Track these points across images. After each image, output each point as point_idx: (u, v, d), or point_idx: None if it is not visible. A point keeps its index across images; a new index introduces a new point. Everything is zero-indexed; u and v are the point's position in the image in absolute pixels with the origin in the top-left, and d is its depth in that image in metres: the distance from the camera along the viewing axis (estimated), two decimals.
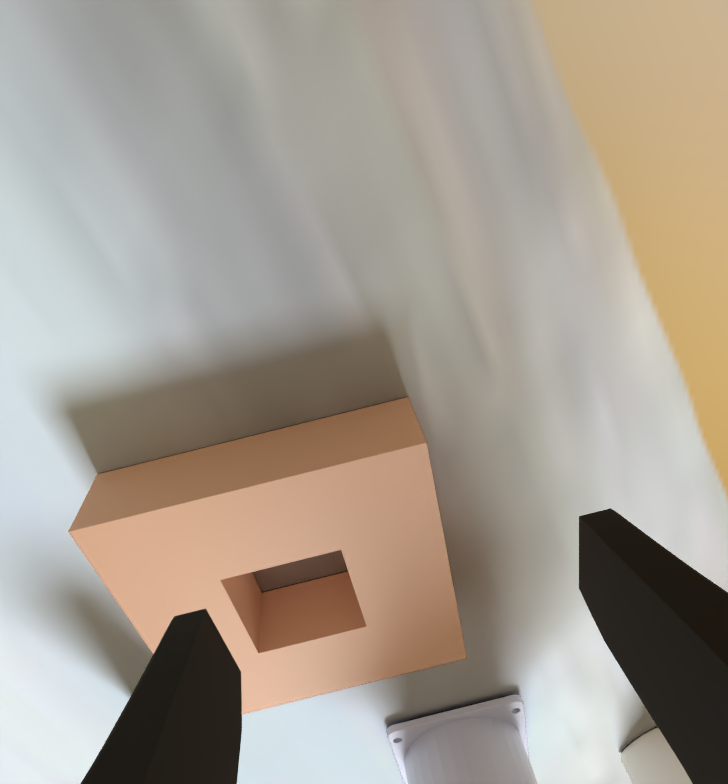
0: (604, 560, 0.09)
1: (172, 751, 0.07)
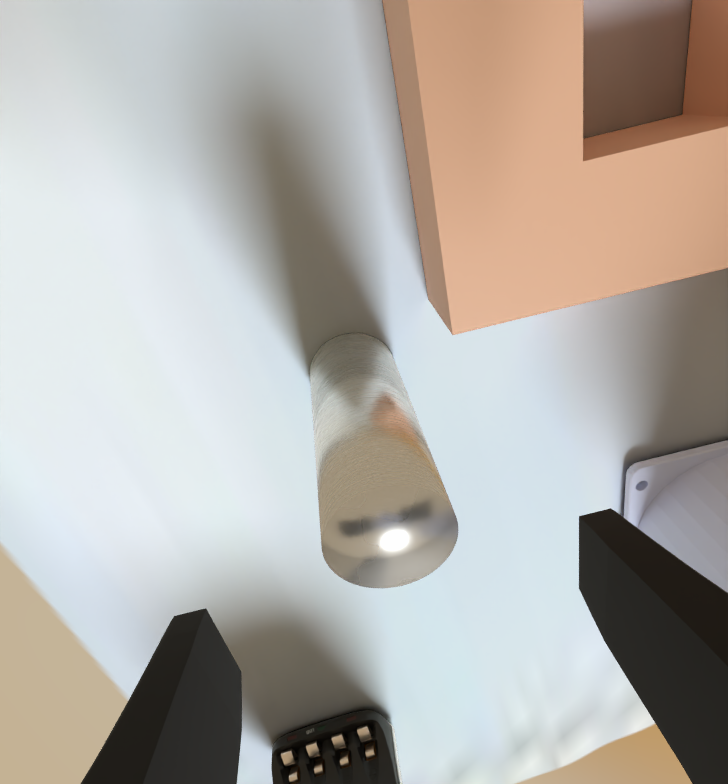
0: (604, 560, 0.09)
1: (172, 751, 0.07)
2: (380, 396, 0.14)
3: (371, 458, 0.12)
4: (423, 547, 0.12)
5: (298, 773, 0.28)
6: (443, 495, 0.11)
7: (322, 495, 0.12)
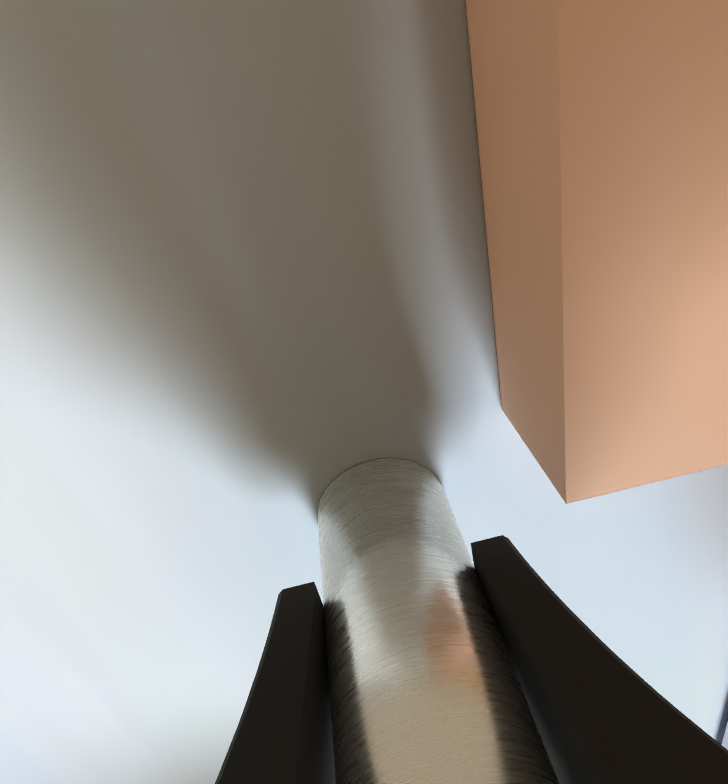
0: (487, 589, 0.09)
1: (311, 716, 0.07)
2: (449, 631, 0.08)
3: None
4: None
5: None
6: None
7: None
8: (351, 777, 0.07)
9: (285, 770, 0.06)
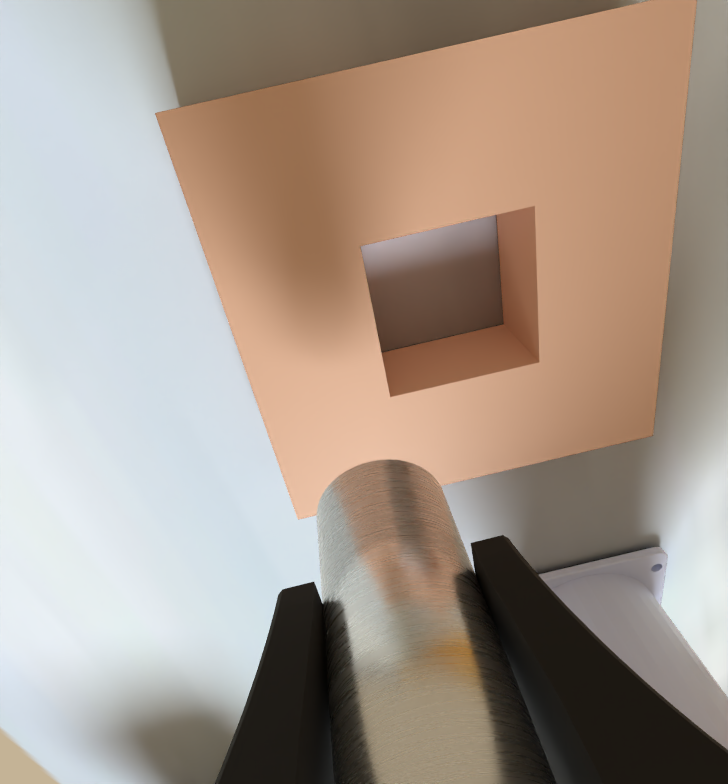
0: (487, 589, 0.09)
1: (311, 717, 0.07)
2: (450, 632, 0.08)
3: None
4: None
5: None
6: None
7: None
8: (351, 777, 0.07)
9: (285, 770, 0.06)
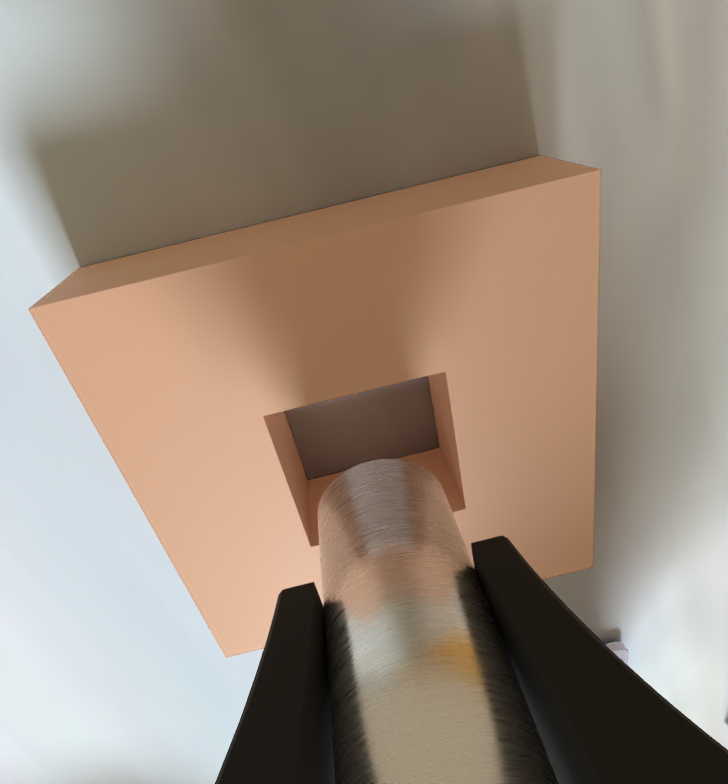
0: (487, 589, 0.09)
1: (311, 717, 0.07)
2: (452, 632, 0.08)
3: None
4: None
5: None
6: None
7: None
8: (352, 776, 0.07)
9: (285, 770, 0.06)
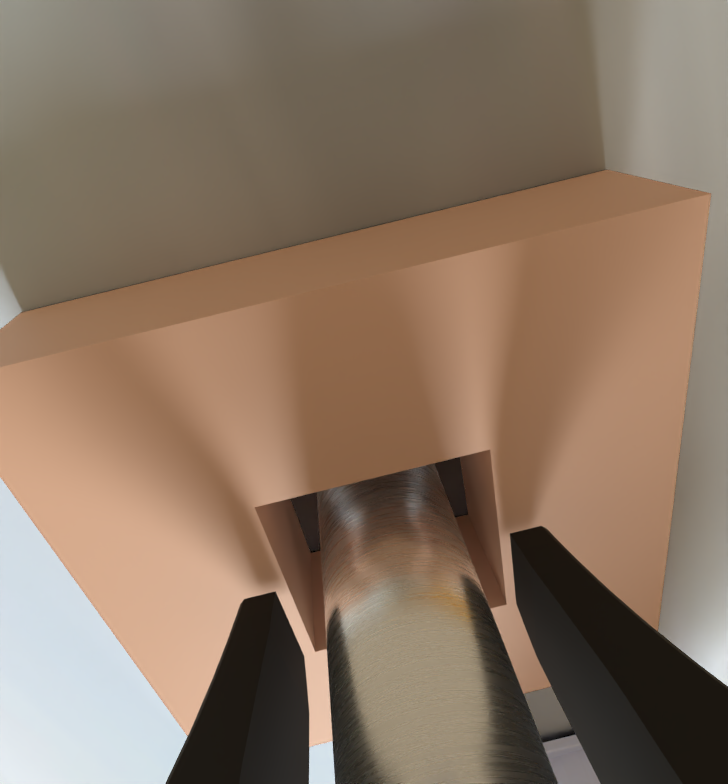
0: (529, 578, 0.09)
1: (262, 729, 0.07)
2: (429, 556, 0.09)
3: (430, 719, 0.07)
4: None
5: None
6: None
7: (342, 766, 0.07)
8: (343, 667, 0.08)
9: None
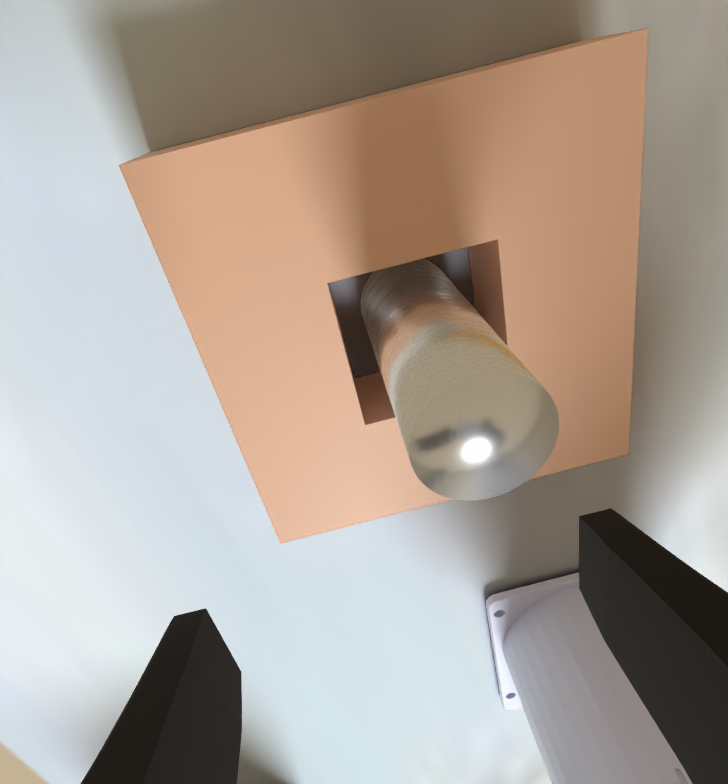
0: (604, 560, 0.09)
1: (172, 751, 0.07)
2: (456, 303, 0.13)
3: (463, 351, 0.10)
4: (518, 451, 0.10)
5: None
6: (545, 390, 0.10)
7: (405, 395, 0.11)
8: (399, 358, 0.12)
9: None
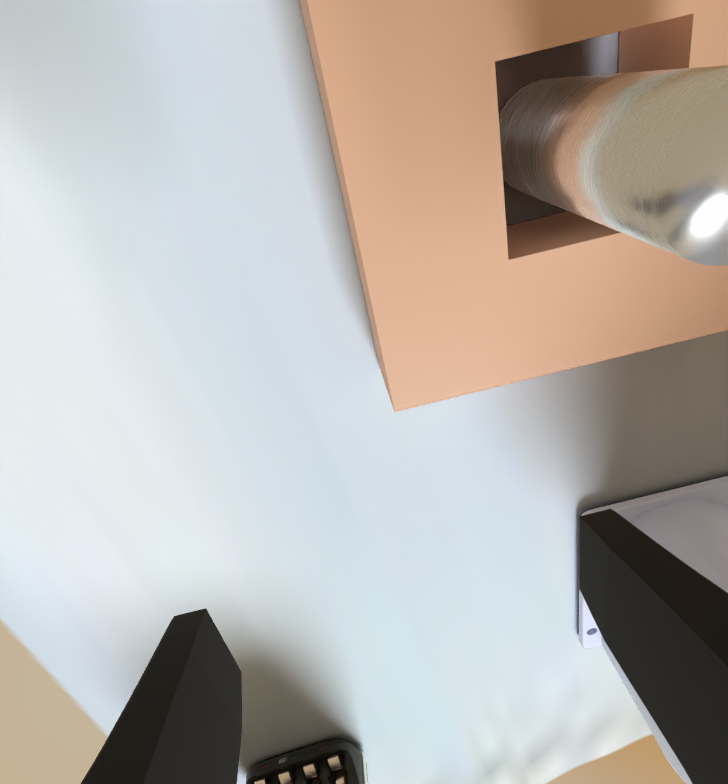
0: (604, 560, 0.09)
1: (172, 751, 0.07)
2: None
3: (721, 66, 0.08)
4: None
5: None
6: None
7: (639, 130, 0.09)
8: (609, 113, 0.10)
9: None
